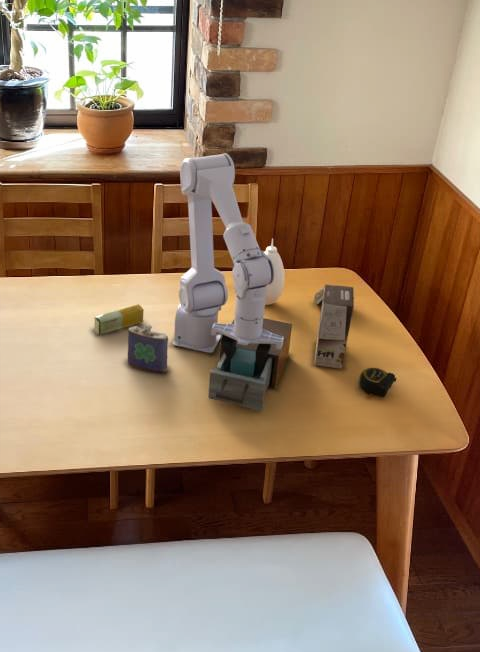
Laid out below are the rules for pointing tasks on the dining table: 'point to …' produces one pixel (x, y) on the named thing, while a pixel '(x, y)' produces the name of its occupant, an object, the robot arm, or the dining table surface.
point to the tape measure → (376, 381)
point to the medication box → (118, 319)
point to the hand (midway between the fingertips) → (243, 369)
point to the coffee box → (334, 325)
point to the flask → (147, 349)
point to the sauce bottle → (275, 276)
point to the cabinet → (272, 347)
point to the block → (243, 363)
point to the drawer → (240, 385)
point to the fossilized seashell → (319, 297)
